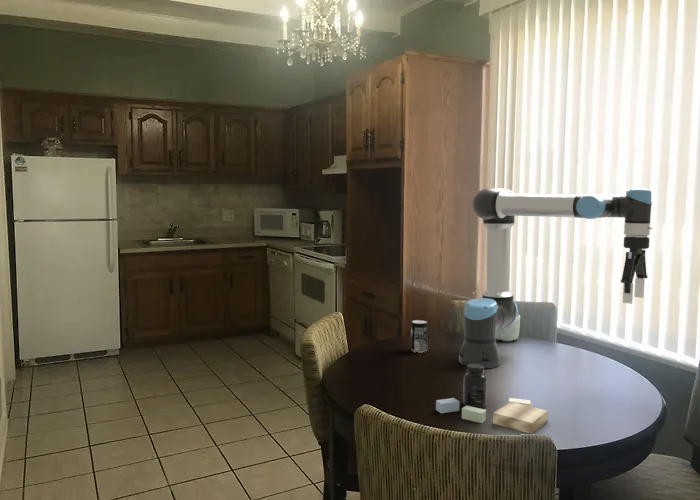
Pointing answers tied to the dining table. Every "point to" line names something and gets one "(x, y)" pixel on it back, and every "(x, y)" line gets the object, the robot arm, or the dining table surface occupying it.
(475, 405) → the supplement bottle
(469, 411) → the sage brick
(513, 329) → the planter
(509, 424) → the maple block
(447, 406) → the dusty blue brick
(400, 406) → the dining table surface
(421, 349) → the beverage can
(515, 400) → the cream brick
